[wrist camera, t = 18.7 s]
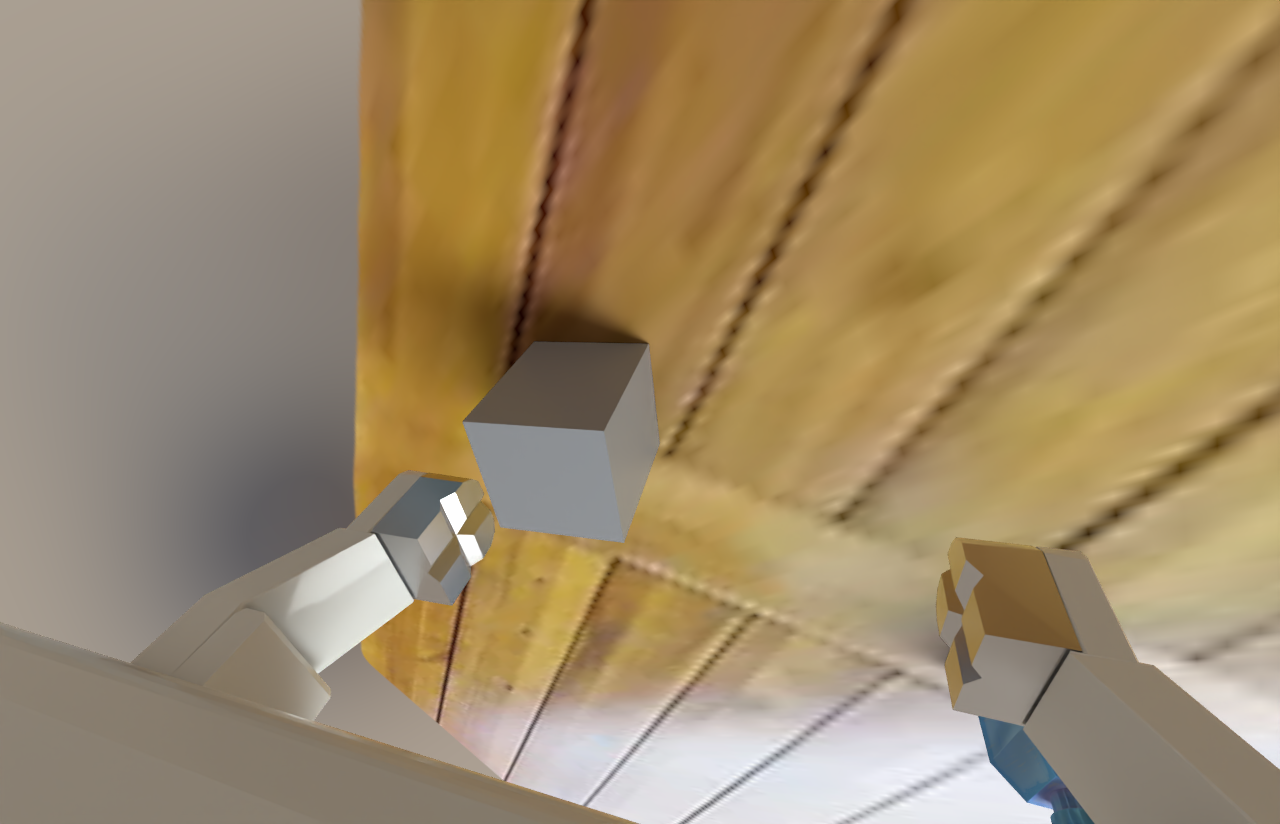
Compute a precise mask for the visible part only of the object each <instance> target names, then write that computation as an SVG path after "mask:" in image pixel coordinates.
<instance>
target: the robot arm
mask: <svg viewBox="0 0 1280 824" xmlns="http://www.w3.org/2000/svg"><path fill="white" fill-rule="evenodd" d="M483 495H484V493H483V490H482V488H481V486H480V484H479V482H478V481H476V480H472V479H467V478H461V477H454V476H447V475H441V474H434V473H425V472H418V471H411V470H408V471H405V472H403V473H400V474H399V475H398V476H397V477H396V478H395V479H394V480H393V481H392V482H391V483H390V484H389V485H388V486H387V487H386V488H385V489H384V490H383V491H382V492H381V493H380V494H379V495H378V496H377V497H376V498H375V499H374V500H373V502H372V503H371V504H370V505H369V506H368V507H367V508H366V509H365V510H364V511H363V512H362V513H361V514H360V515H359V516H358V517H357V518H356V519H355V520H354V521H353V522H352V523H351V524H350V525H349V526H348V527H347V528H346V529H344V528H338V529H336V530H334V531H332V532H331V533H328V534H326V535H325V536H322V537H320V538H318V539H316V540H314V541H312V542H310V543H308V544H306V545H304V546H302V547H300V548H298V549H296V550H294V551H292V552H290V553H288V554H286V555H284V556H283V557H280V558H278V559H276V560H274V561H272V562H270V563H268V564H266V565H264V566H262V567H260V568H258V569H256V570H255V571H252V572H250V573H248V574H246V575H244V576H242V577H240V578H239V579H236V580H234V581H232V582H230V583H228V584H226V585H224V586H222V587H220V588H218V589H216V590H214V591H212V592H210V593H208V594H206V595H204V596H203V597H202V598H201V599H200V600H199V601H198V602H197V603H196V604H194V605H193V606H192V607H191V608H190V609H189V610H188V611H187V612H186V613H184V614H183V615H182V616H181V617H180V618H179V619H178V620H177V621H176V622H175V623H173V624H172V625H171V626H170V627H169V628H168V629H167V630H166V631H165V632H164V633H163V634H162V635H160V636H159V637H158V638H157V639H156V640H155V641H154V642H153V643H151V644H150V645H149V646H148V647H147V648H146V649H145V650H144V651H143V652H142V653H140V654H139V655H138V656H137V657H136V658H135V659H134V660H133V661H132V662H131V663H128V662H124V661H121V660H118V659H115V658H112V657H108V656H105V655H102V654H99V653H96V652H92V651H90V650H86V649H83V648H80V647H76V646H74V645H70V644H67V643H64V642H61V641H58V640H54V639H51V638H48V637H44V636H41V635H38V634H35V633H32V632H29V631H25V630H22V629H19V628H16V627H13V626H10V625H7V624H4V623H1V622H0V824H639V823H635V822H632V821H629V820H626V819H623V818H620V817H616V816H613V815H610V814H607V813H604V812H600V811H597V810H594V809H591V808H588V807H585V806H581V805H578V804H575V803H572V802H569V801H566V800H562V799H559V798H556V797H553V796H550V795H547V794H543V793H540V792H537V791H534V790H531V789H528V788H524V787H521V786H518V785H515V784H512V783H508V782H505V781H502V780H499V779H496V778H493V777H489V776H486V775H483V774H480V773H477V772H474V771H470V770H467V769H464V768H461V767H458V766H454V765H451V764H448V763H445V762H442V761H438V760H436V759H432V758H429V757H426V756H423V755H420V754H416V753H413V752H410V751H407V750H404V749H400V748H397V747H394V746H391V745H388V744H385V743H381V742H378V741H375V740H372V739H369V738H366V737H362V736H359V735H356V734H353V733H349V732H346V731H344V730H340V729H337V728H334V727H331V726H328V725H324V724H321V723H318V722H315V721H314V719H315V718H316V716H317V715H318V714H319V713H320V711H321V710H322V708H323V707H324V706H325V704H326V703H327V702H328V700H329V699H330V698H331V689H330V688H329V687H328V686H327V684H326V683H325V682H324V681H323V680H322V679H321V677H320V676H319V675H318V673H319V672H321V671H322V670H323V669H325V668H326V667H327V666H329V665H330V664H331V663H333V662H334V661H335V660H337V659H338V658H339V657H341V656H342V655H343V654H345V653H346V652H347V651H349V650H350V649H351V648H353V647H354V646H355V645H357V644H358V643H359V642H361V641H362V640H363V639H365V638H366V637H367V636H369V635H370V634H371V633H373V632H374V631H375V630H377V629H378V628H379V627H381V626H382V625H383V624H385V623H386V622H387V621H389V620H390V619H391V618H393V617H394V616H395V615H397V614H398V613H399V612H401V611H402V610H403V609H405V608H406V607H407V606H409V605H410V604H411V603H413V602H414V600H413V599H417V600H423V601H429V602H435V603H440V604H446V605H453V603H454V602H455V600H456V599H457V597H458V596H459V594H460V593H461V591H462V590H463V588H464V587H465V585H466V584H467V582H468V581H469V579H470V578H471V567H470V566H471V565H473V564H474V563H476V562H477V561H479V560H481V559H482V558H484V556H485V554H486V553H487V551H488V549H489V548H490V546H491V543H492V540H493V536H494V532H495V526H494V518H493V516H492V513H491V510H489V509H488V508H487V507H486V506H485V505H484V504H483V503H482V502H481V500H482V497H483ZM948 559H949V564H950V570H948V571H946V572H944V573H942V574H941V578H940V581H939V585H938V589H937V601H936V612H937V623H938V629H939V636H940V637H941V639H942V640H943V641H944V642H945V643H946V644H947V645H948V646H949V647H950V651H949V654H948V656H947V659H946V662H945V670H946V675H947V681H948V686H949V692H950V697H951V702H952V708H953V710H956V711H960V712H964V713H968V714H973V715H977V716H981V717H986V718H990V719H994V720H999V721H1003V722H1007V723H1011V724H1016V725H1020V726H1024V728H1023V730H1024V732H1025V733H1026V734H1027V736H1028V737H1029V738H1030V739H1031V741H1032V742H1033V743H1034V745H1035V746H1036V747H1037V749H1038V750H1039V751H1040V753H1041V754H1042V755H1043V757H1044V758H1045V759H1046V760H1047V762H1048V763H1049V764H1050V766H1051V767H1052V768H1053V770H1054V771H1055V772H1056V774H1057V775H1058V776H1059V778H1060V779H1061V780H1062V781H1063V783H1064V784H1065V785H1066V787H1067V788H1068V789H1069V791H1070V792H1071V793H1072V795H1073V796H1074V797H1075V799H1076V800H1077V801H1078V802H1079V804H1080V805H1081V806H1082V808H1083V809H1084V810H1085V812H1086V813H1087V814H1088V816H1089V817H1090V818H1091V820H1092V821H1093V822H1094V823H1095V824H1280V769H1278V768H1277V767H1276V766H1275V765H1274V764H1272V763H1271V762H1270V761H1269V760H1267V759H1266V758H1265V757H1264V756H1263V755H1261V754H1260V753H1259V752H1258V751H1257V750H1255V749H1254V748H1253V747H1252V746H1251V745H1249V744H1248V743H1247V742H1246V741H1245V740H1243V739H1242V738H1241V737H1240V736H1239V735H1237V734H1236V733H1235V732H1234V731H1232V730H1231V729H1230V728H1229V727H1228V726H1226V725H1225V724H1224V723H1223V722H1222V721H1220V720H1219V719H1218V718H1217V717H1216V716H1214V715H1213V714H1212V713H1211V712H1210V711H1208V710H1207V709H1206V708H1205V707H1204V706H1202V705H1201V704H1200V703H1199V702H1197V701H1196V700H1195V699H1194V698H1193V697H1191V696H1190V695H1189V694H1188V693H1187V692H1185V691H1184V690H1183V689H1182V688H1181V687H1179V686H1178V685H1177V684H1176V683H1175V682H1173V681H1172V680H1171V679H1170V678H1169V677H1167V676H1166V675H1165V674H1164V673H1162V672H1161V671H1160V670H1159V669H1158V668H1156V667H1155V666H1154V665H1149V664H1144V663H1139V662H1138V660H1137V658H1136V656H1135V654H1134V652H1133V650H1132V647H1131V645H1130V643H1129V641H1128V639H1127V637H1126V635H1125V633H1124V631H1123V629H1122V627H1121V625H1120V623H1119V621H1118V619H1117V617H1116V615H1115V613H1114V611H1113V609H1112V607H1111V605H1110V602H1109V600H1108V598H1107V596H1106V594H1105V592H1104V590H1103V588H1102V586H1101V584H1100V582H1099V580H1098V578H1097V576H1096V574H1095V572H1094V570H1093V568H1092V566H1091V564H1090V562H1089V559H1088V558H1087V557H1086V556H1085V555H1084V554H1083V553H1082V552H1080V551H1072V550H1063V549H1054V548H1045V547H1033V546H1029V545H1020V544H1011V543H1002V542H993V541H984V540H975V539H966V538H957V537H956V538H955V539H954V540H953V542H952V543H951V546H950V549H949V552H948Z"/></svg>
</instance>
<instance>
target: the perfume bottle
mask: <svg viewBox="0 0 1280 824" xmlns="http://www.w3.org/2000/svg"><path fill="white" fill-rule="evenodd" d="M978 717H979V721H980V725H981V728H982V732H983V736H984V740H985V744H986V748H987V752H988V756H989V760H990V763H991V764H992V765H993V766H994V767H995V768H996V769H997V770H998V772H999V773H1000V774H1001V775H1002V776H1003V777H1004V778H1005V779H1006V780H1007V781H1008V782H1009V783H1010V785H1011V786H1012V787H1013V788H1014V789H1015V790H1016V791H1017V792H1018V793H1019V794H1020V795H1021V797H1022V798H1023V799H1024V800H1025V801H1026V802H1027V803H1031V804H1035V805H1038V806H1042V807H1046V808H1050V809H1053V810H1054V813H1053V814H1052V815H1051V822H1052V824H1095V823H1094V822H1093V821H1092V820H1091V818H1090V817H1089V816H1088V814H1087V813H1086V812H1085V810H1084V809H1083V808H1082V806H1081V805H1080V804H1079V802H1078V801H1077V800H1076V799H1075V797H1074V796H1073V795H1072V793H1071V792H1070V791H1069V789H1068V788H1067V787H1066V785H1065V784H1064V783H1063V781H1062V780H1061V779H1060V778H1059V776H1058V775H1057V774H1056V772H1055V771H1054V770H1053V768H1052V767H1051V766H1050V764H1049V763H1048V762H1047V760H1046V759H1045V758H1044V757H1043V755H1042V754H1041V753H1040V751H1039V750H1038V749H1037V747H1036V746H1035V745H1034V743H1033V742H1032V741H1031V739H1030V738H1029V737H1028V736H1027V734H1026V733H1025V732H1024V730H1023V728H1024V726H1020V725H1016V724H1011V723H1007V722H1003V721H999V720H994V719H990V718H986V717H981V716H978Z"/></svg>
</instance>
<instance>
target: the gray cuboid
mask: <svg viewBox="0 0 1280 824" xmlns="http://www.w3.org/2000/svg"><path fill="white" fill-rule="evenodd" d="M463 425H464V427H465V430H466V433H467V436H468V438H469V441H470V444H471V447H472V450H473V452H474V455H475V458H476V461H477V463H478V466H479V469H480V472H481V475H482V477H483V480H484V483H485V486H486V488H487V491H488V494H489V497H490V500H491V502H492V505H493V508H494V511H495V513H496V516H497V519H498V522H499V524H500V527H503V528H511V529H519V530H527V531H535V532H543V533H551V534H559V535H567V536H575V537H583V538H591V539H599V540H607V541H615V542H623V543H624V541H625V539H626V536H627V533H628V530H629V527H630V525H631V522H632V519H633V516H634V514H635V511H636V508H637V505H638V502H639V500H640V497H641V494H642V491H643V489H644V486H645V483H646V480H647V477H648V475H649V472H650V469H651V466H652V464H653V461H654V458H655V455H656V452H657V450H658V447H659V444H660V442H659V433H658V424H657V414H656V405H655V396H654V387H653V378H652V369H651V359H650V350H649V344H638V343H587V342H536V341H534V342H533V343H532V344H531V345H530V347H529V348H528V349H527V350H526V351H525V352H524V353H523V354H522V356H521V357H520V358H519V359H518V360H517V361H516V362H515V363H514V365H513V366H512V367H511V368H510V369H509V370H508V371H507V372H506V373H505V375H504V376H503V377H502V378H501V379H500V380H499V381H498V382H497V384H496V385H495V386H494V387H493V388H492V389H491V390H490V391H489V392H488V394H487V395H486V396H485V397H484V398H483V399H482V400H481V401H480V403H479V404H478V405H477V406H476V407H475V408H474V409H473V410H472V411H471V413H470V414H469V415H468V416H467V417H466V418H465V419H464V420H463Z"/></svg>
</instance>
